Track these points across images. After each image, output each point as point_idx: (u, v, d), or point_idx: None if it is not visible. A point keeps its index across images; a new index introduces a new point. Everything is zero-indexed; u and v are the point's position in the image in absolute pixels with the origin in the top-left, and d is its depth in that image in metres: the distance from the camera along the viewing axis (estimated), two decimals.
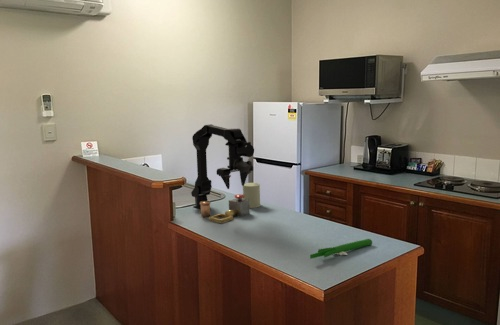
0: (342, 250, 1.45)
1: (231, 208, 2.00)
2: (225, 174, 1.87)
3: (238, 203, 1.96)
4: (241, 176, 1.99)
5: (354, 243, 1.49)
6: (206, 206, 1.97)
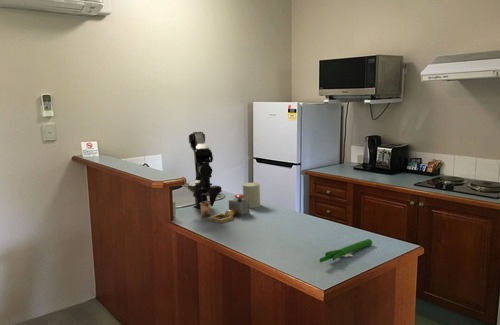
0: (347, 252, 1.43)
1: (231, 208, 2.00)
2: (188, 188, 2.01)
3: (238, 203, 1.96)
4: None
5: (357, 244, 1.48)
6: (206, 206, 1.97)
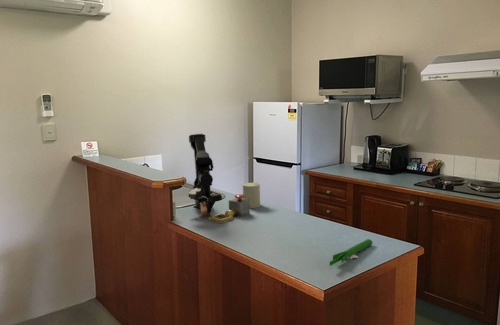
0: (353, 253, 1.41)
1: (231, 208, 2.00)
2: (189, 196, 2.02)
3: (238, 203, 1.96)
4: None
5: (360, 245, 1.47)
6: (206, 206, 1.97)
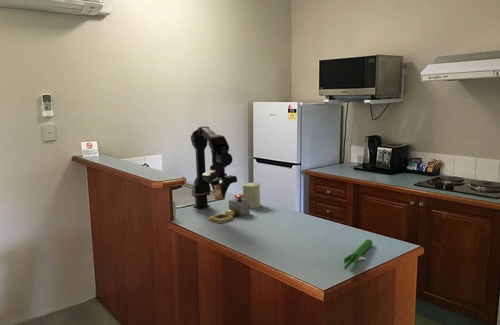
0: (360, 255, 1.40)
1: (231, 208, 2.00)
2: (202, 178, 1.93)
3: (238, 203, 1.96)
4: None
5: (364, 246, 1.46)
6: (220, 188, 1.88)
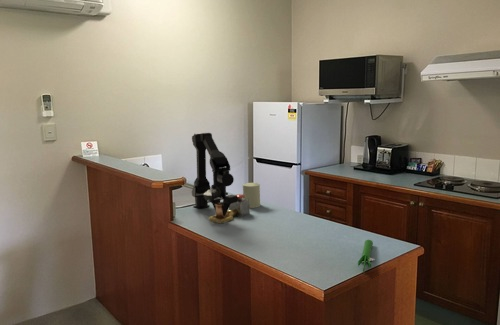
0: (369, 256, 1.38)
1: (231, 208, 2.00)
2: (203, 197, 1.94)
3: (238, 203, 1.96)
4: None
5: (369, 246, 1.45)
6: (221, 208, 1.89)
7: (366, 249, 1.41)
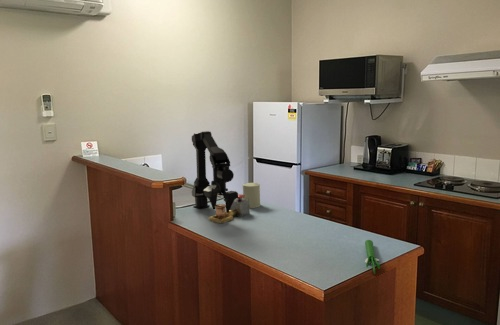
0: (374, 257, 1.38)
1: (231, 208, 2.00)
2: (203, 193, 1.94)
3: (238, 203, 1.96)
4: None
5: (371, 247, 1.44)
6: (221, 210, 1.89)
7: (370, 249, 1.41)
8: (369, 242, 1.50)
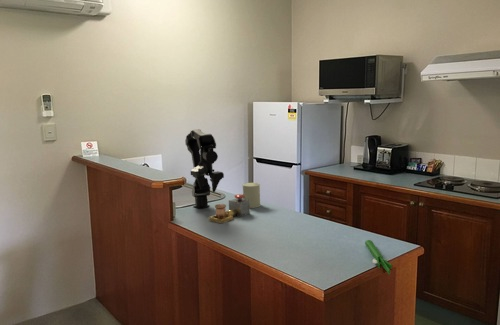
0: None
1: (231, 208, 2.00)
2: (191, 174, 2.04)
3: (238, 203, 1.96)
4: None
5: (375, 247, 1.44)
6: (221, 210, 1.89)
7: (375, 250, 1.40)
8: (370, 242, 1.50)
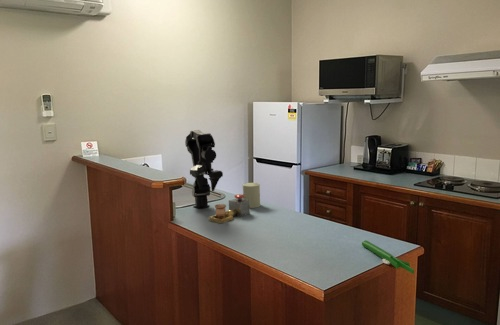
0: None
1: (231, 208, 2.00)
2: (190, 173, 2.05)
3: (238, 203, 1.96)
4: None
5: (378, 247, 1.44)
6: (221, 210, 1.89)
7: (382, 250, 1.40)
8: (369, 242, 1.49)
